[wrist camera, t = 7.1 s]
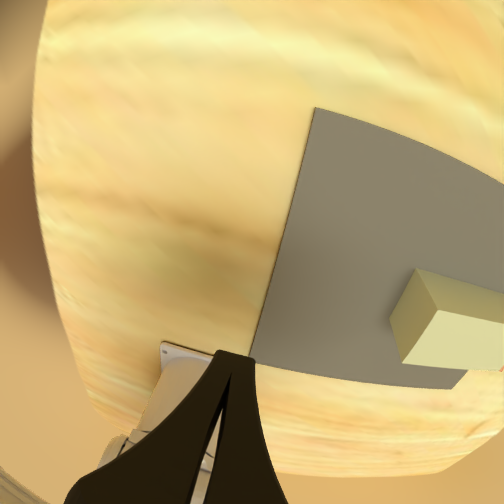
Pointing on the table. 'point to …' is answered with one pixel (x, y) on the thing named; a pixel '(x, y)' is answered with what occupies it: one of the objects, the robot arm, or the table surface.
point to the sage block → (449, 324)
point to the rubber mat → (373, 251)
